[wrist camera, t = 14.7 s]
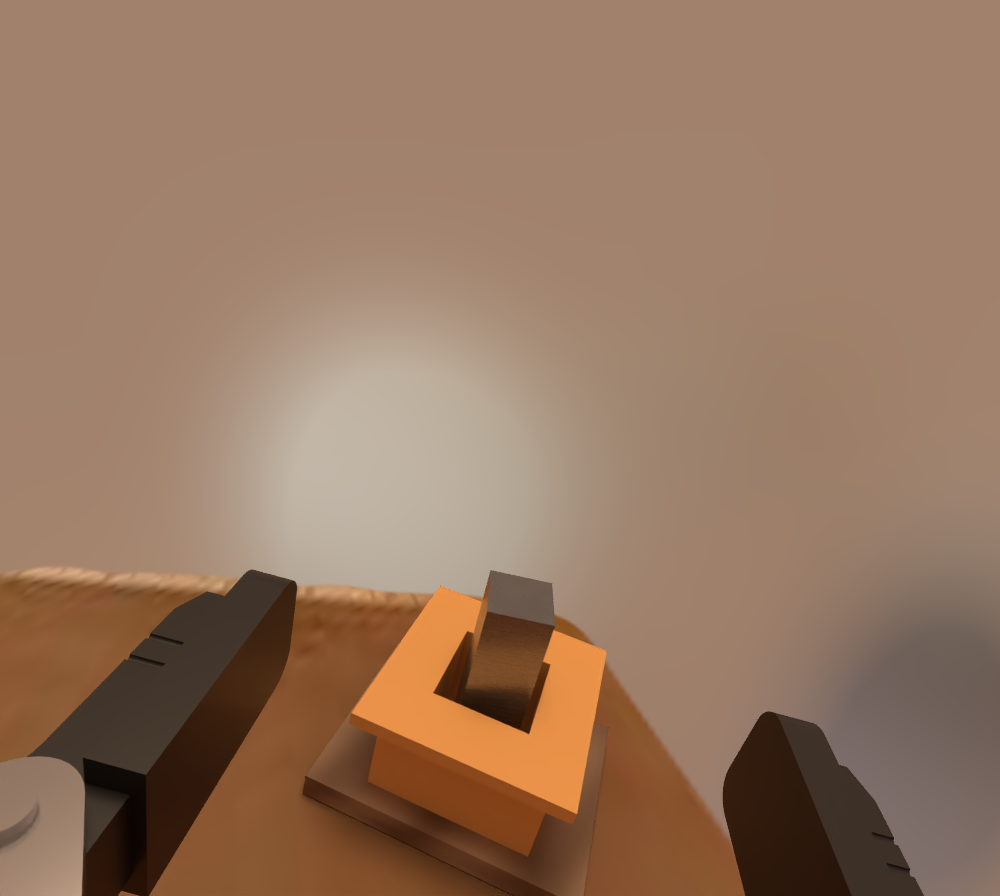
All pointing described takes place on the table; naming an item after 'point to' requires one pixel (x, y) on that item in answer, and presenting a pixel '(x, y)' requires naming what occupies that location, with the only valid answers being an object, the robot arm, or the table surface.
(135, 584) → the table surface
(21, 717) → the table surface
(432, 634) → the orange square collar
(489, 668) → the dark grey rectangular block
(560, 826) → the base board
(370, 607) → the table surface
